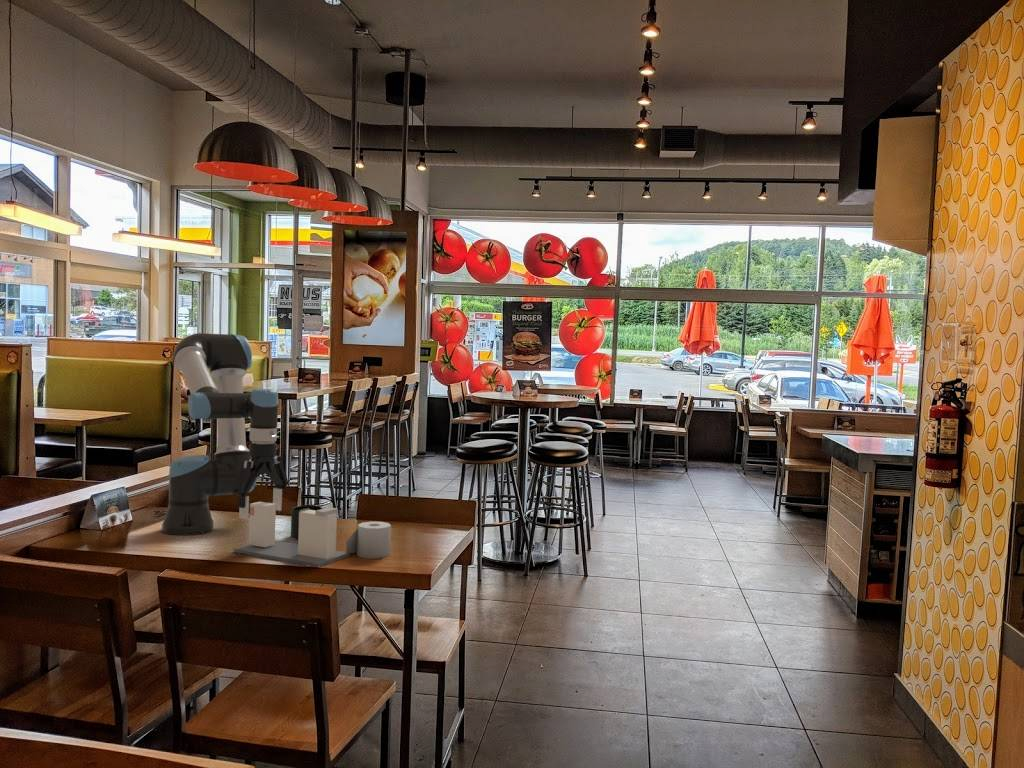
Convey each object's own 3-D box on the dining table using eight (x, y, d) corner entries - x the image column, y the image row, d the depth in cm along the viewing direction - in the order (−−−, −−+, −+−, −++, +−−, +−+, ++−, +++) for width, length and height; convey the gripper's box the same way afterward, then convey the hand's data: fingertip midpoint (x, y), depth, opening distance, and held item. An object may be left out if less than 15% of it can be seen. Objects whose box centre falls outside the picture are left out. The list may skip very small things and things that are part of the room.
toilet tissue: (339, 554, 221) (340, 525, 221) (380, 548, 230) (381, 520, 229) (354, 561, 214) (355, 531, 214) (395, 555, 222) (396, 526, 222)
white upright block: (248, 544, 224) (249, 503, 223) (259, 541, 227) (260, 501, 227) (264, 547, 221) (265, 506, 221) (274, 544, 225) (275, 503, 224)
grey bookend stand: (233, 552, 220) (234, 502, 219) (268, 542, 232) (269, 495, 232) (317, 567, 207) (319, 515, 207) (349, 556, 220) (350, 506, 219)
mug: (319, 542, 235) (320, 513, 234) (284, 538, 238) (285, 509, 237) (334, 536, 244) (335, 507, 243) (301, 532, 247) (301, 504, 247)
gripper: (241, 447, 211) (238, 524, 212) (302, 439, 233) (299, 508, 234) (220, 445, 214) (218, 520, 215) (282, 436, 236) (280, 505, 237)
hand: (260, 514), depth 225 cm, fingers open, 13 cm apart
